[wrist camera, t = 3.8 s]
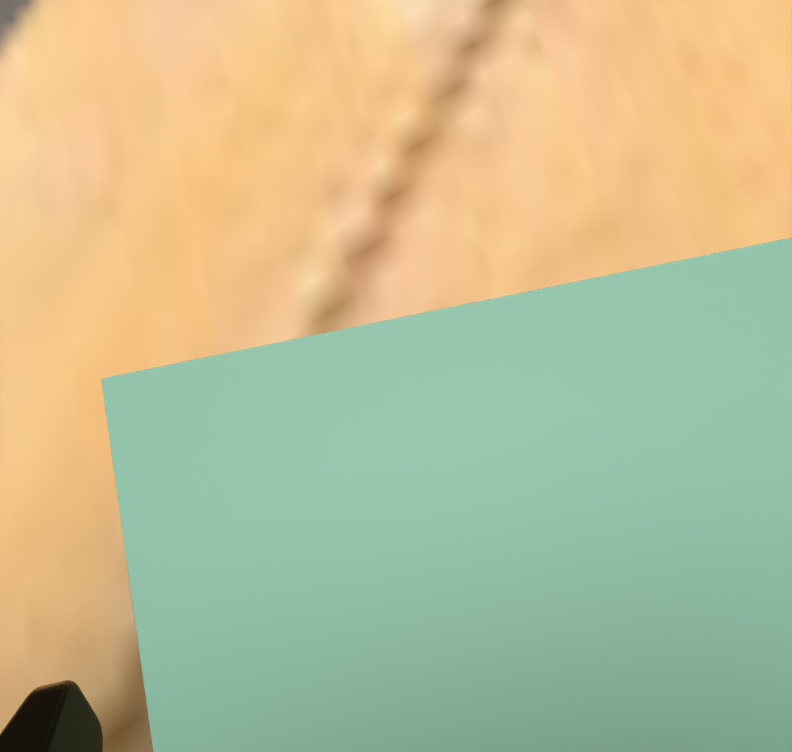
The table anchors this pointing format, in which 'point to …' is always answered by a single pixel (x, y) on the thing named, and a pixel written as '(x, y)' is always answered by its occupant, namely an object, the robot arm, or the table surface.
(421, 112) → the table surface
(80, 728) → the robot arm
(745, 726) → the green block
